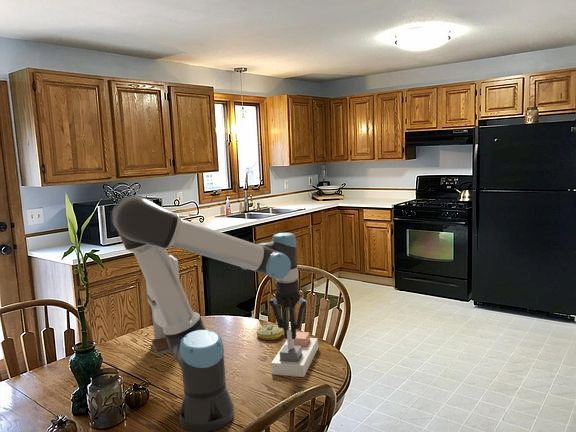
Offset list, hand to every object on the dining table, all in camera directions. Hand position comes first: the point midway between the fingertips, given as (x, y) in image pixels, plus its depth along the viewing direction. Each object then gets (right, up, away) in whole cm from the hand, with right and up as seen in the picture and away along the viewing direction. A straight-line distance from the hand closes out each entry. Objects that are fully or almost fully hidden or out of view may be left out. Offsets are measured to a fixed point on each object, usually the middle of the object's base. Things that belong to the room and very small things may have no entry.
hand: (291, 347), depth 154 cm
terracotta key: (+3, -2, +12) cm, 12 cm away
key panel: (+2, -7, +7) cm, 10 cm away
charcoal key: (0, -4, 0) cm, 4 cm away
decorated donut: (-8, -4, +30) cm, 32 cm away
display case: (-48, -7, +25) cm, 55 cm away
